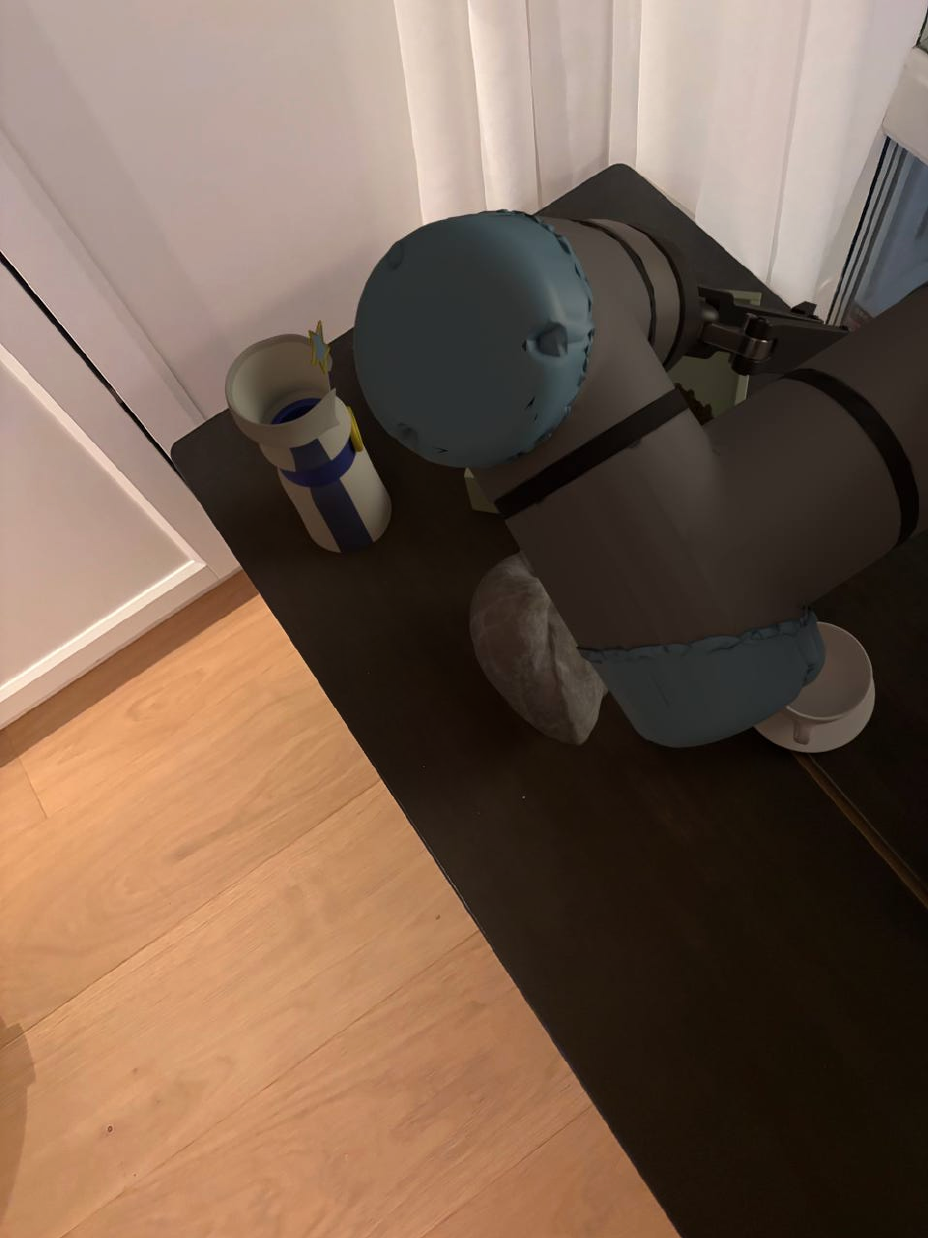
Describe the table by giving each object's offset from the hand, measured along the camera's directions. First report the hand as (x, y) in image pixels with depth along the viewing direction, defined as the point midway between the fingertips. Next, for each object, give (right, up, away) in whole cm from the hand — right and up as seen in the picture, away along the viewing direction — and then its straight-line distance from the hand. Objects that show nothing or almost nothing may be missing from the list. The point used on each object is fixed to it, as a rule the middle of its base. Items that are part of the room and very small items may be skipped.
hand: (697, 291), depth 58 cm
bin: (-2, -4, +21) cm, 22 cm away
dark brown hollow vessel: (+1, -9, +18) cm, 20 cm away
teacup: (+11, -26, +11) cm, 30 cm away
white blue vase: (-25, -11, +22) cm, 35 cm away
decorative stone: (-8, -25, +14) cm, 30 cm away
